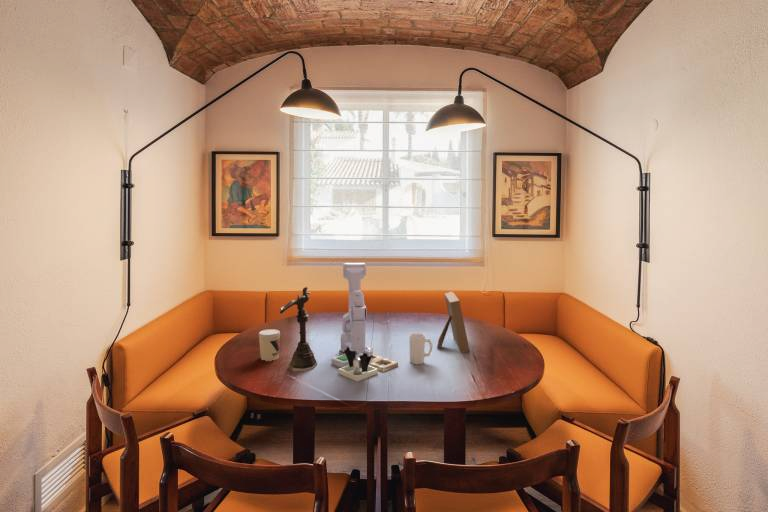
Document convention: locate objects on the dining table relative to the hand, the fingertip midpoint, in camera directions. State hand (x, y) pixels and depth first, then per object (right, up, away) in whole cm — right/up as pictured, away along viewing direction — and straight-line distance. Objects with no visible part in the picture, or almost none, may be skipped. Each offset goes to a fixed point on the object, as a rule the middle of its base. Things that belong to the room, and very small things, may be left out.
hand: (358, 368), depth 166 cm
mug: (+27, -1, +15) cm, 30 cm away
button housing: (-7, -1, +11) cm, 13 cm away
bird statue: (-26, -2, +7) cm, 27 cm away
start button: (-7, -1, +11) cm, 12 cm away
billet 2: (+4, -1, +15) cm, 15 cm away
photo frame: (+44, +1, +39) cm, 58 cm away
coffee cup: (-41, 0, +18) cm, 45 cm away
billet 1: (0, -2, 0) cm, 2 cm away
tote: (0, -2, 0) cm, 2 cm away
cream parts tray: (+7, -1, +12) cm, 14 cm away
